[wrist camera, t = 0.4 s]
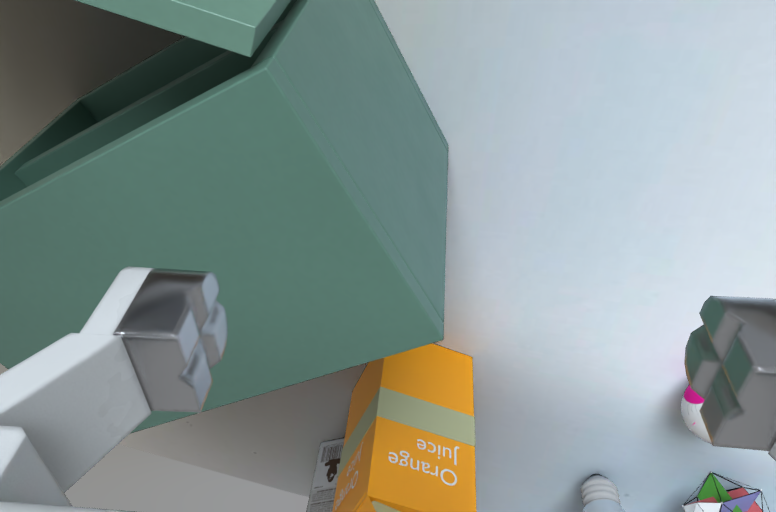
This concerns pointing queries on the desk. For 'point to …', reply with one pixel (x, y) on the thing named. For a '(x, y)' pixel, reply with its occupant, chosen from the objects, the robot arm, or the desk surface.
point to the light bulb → (600, 495)
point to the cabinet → (242, 200)
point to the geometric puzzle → (723, 498)
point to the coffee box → (325, 477)
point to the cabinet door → (205, 19)
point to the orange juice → (410, 435)
